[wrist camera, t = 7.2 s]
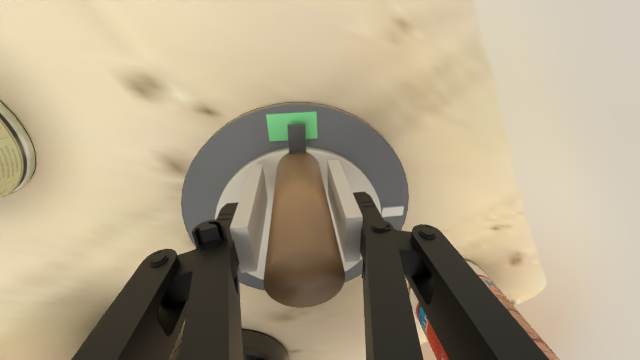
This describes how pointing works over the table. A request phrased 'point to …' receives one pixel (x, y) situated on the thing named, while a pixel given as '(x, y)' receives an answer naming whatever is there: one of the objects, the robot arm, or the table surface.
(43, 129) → the table surface
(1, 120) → the coffee can
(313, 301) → the tuner dial
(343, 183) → the robot arm
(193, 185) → the dial base
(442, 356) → the fruit juice
